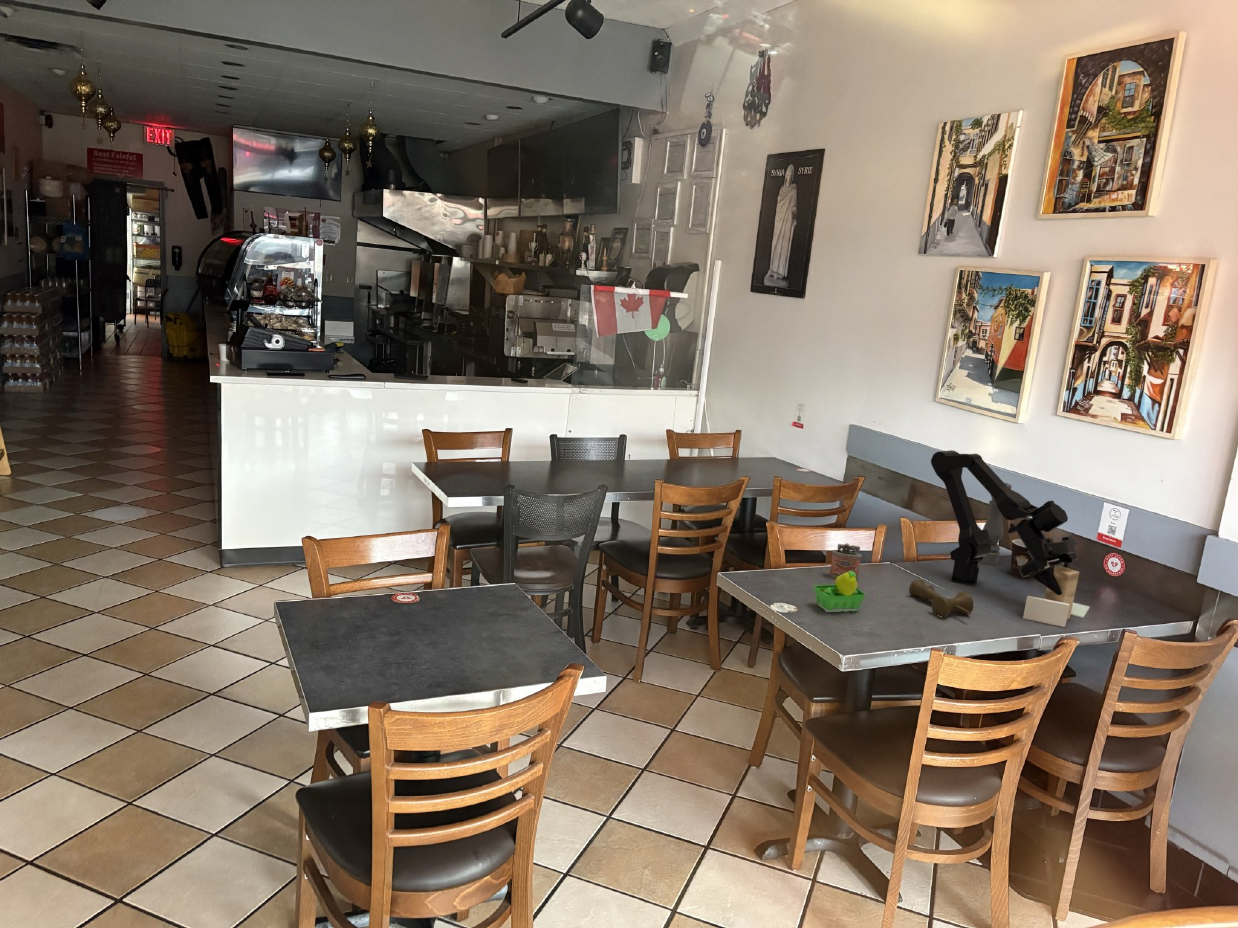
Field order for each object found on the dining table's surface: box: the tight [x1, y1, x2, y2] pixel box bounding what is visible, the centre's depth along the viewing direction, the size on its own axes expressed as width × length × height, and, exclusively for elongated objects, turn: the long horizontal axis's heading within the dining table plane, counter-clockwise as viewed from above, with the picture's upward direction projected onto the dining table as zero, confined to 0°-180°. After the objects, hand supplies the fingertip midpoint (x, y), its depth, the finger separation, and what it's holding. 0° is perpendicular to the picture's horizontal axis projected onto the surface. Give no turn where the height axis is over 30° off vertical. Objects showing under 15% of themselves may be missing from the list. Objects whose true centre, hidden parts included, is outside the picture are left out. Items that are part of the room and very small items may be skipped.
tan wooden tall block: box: [1044, 566, 1080, 620], centre depth 236 cm, size 5×5×13 cm
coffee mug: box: [1009, 538, 1035, 580], centre depth 266 cm, size 12×9×10 cm
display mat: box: [1070, 602, 1091, 619], centre depth 244 cm, size 10×10×1 cm
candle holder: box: [978, 482, 1012, 566], centre depth 276 cm, size 6×6×25 cm
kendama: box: [908, 578, 975, 618], centre depth 235 cm, size 6×10×20 cm
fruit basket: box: [813, 571, 866, 610], centre depth 228 cm, size 11×9×11 cm
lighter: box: [828, 542, 863, 582], centre depth 252 cm, size 8×3×10 cm, turn 73°
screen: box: [1022, 595, 1070, 628], centre depth 232 cm, size 10×1×6 cm, turn 67°
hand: (1065, 592), depth 235 cm, fingers closed on tan wooden tall block, 5 cm apart
